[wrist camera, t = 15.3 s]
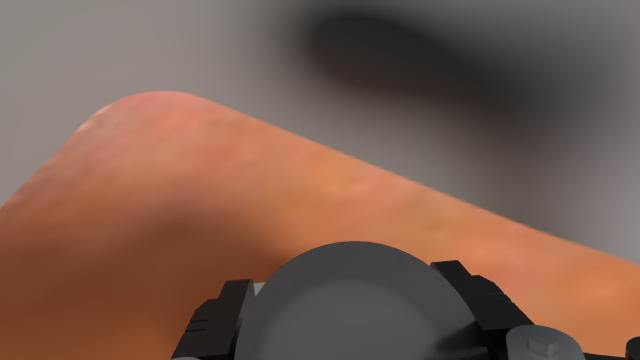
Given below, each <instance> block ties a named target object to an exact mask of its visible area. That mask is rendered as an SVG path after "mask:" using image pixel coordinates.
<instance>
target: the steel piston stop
mask: <svg viewBox="0 0 640 360" xmlns="http://www.w3.org/2000/svg"><path fill="white" fill-rule="evenodd" d="M234 360H490V358H489V353H488V350H487V347H483V343H482V340H481V337H480V333H479V330H478V326H477V323H476V319H475V318H474V316H473V314H472V312H471V311H470V309H469V307H468V306H467V304H466V303H465V301H464V300H463V299H462V297H461V296H460V295H459V293H458V292H457V291H456V290H455V289H454V288H453V287H452V285H451V284H450V283H449V282H448V281H447V280H446V279H445V278H444V277H442V276H441V275H440V274H439V273H438V272H437V271H436V270H434V269H433V268H432V267H430V266H429V265H427V264H426V263H424V262H423V261H421V260H420V259H418V258H416V257H414V256H412V255H410V254H409V253H406V252H404V251H401V250H399V249H396V248H393V247H390V246H386V245H383V244H378V243H372V242H361V241H349V242H338V243H333V244H328V245H324V246H321V247H317V248H314V249H311V250H309V251H307V252H305V253H303V254H301V255H299V256H297V257H296V258H294V259H292V260H291V261H289V262H288V263H286V264H285V265H284V266H283V267H281V268H280V269H279V270H278V271H277V272H275V273H274V274H273V275H272V277H271V278H270V279H269V280H268V281H267V282H266V283H265V284H264V285H263V287H262V288H261V289H260V291H259V292H258V293H257V295H256V296H255V298H254V300H253V302H252V303H251V305H250V307H249V309H248V310H247V313H246V315H245V318H244V320H243V323H242V325H241V328H240V332H239V336H238V339H237V343H236V350H235V357H234Z"/></svg>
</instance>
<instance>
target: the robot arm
mask: <svg viewBox="0 0 640 360" xmlns="http://www.w3.org/2000/svg"><path fill="white" fill-rule="evenodd" d="M430 267H432V268H433V269H434V270H436V271H437V272H438V273H439V274H440V275H441V276H442V277H444V278H445V279H446V280H447V281H448V282H449V283H450V284H451V285H452V287H453V288H454V289H455V290H456V291H457V292H458V293H459V295H460V296H461V297H462V299H463V300H464V301H465V303H466V304H467V306H468V307H469V309H470V311H471V312H472V314H473V316H474V318H475V319H476V323H477V326H478V330H479V333H480V337H481V340H482V343H483V347H487V350H488V353H489V358H490V360H640V336H639V337H635V338H632V339H630V340H629V341H628V342H627V344H626V353H625V358H624V357H615V356H606V355H596V354H589V353H583V352H582V350H581V347H580V346H579V344H578V343H577V342H576V341H575V340H574V339H573V338H572V337H570V336H569V335H567V334H565V333H563V332H561V331H559V330H556V329H553V328H550V327H545V326H539V325H535V324H534V323H533V322H532V321H531V320H530V319H529V318H528V317H527V316H526V315H525V314H524V313H523V312H522V311H521V310H520V309H519V308H518V307H517V306H516V305H515V304H514V303H512V301H511V300H510V299H509V297H508V296H507V295H506V294H504V292H503V291H502V290H501V289H500V288H499V287H498V286H497V285H496V284H495V283H494V282H492V281H490V280H488V279H486V278H484V277H482V276H480V275H473V276H471V274H470V273H469V272H468V271H467V270H466V269H465V268H464V267H463V265H462V264H461V263H460V262H459V261H458V260H453V261H442V262H432V263H431V264H430ZM254 298H255V290H254V284H253V280H252V279H242V280H231V281H226V282H225V284H224V286H223V289H222V291H221V293H220V296H219V298H218V299H209V300H207V301H206V302H204V303H203V304H202V305H201V306H200V307H199V308H197V309H196V310H195V312H194V314H193V316H192V318H191V320H190V323H189V324H188V326H187V328H186V330H185V333H184V334H183V336H182V338H181V340H180V342H179V344H178V346H177V347H176V349H175V351H174V353H173V355H172V357H171V359H170V360H234V357H235V350H236V343H237V339H238V336H239V332H240V328H241V325H242V323H243V320H244V318H245V315H246V313H247V310H248V309H249V307H250V305H251V303H252V302H253V300H254Z"/></svg>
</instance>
